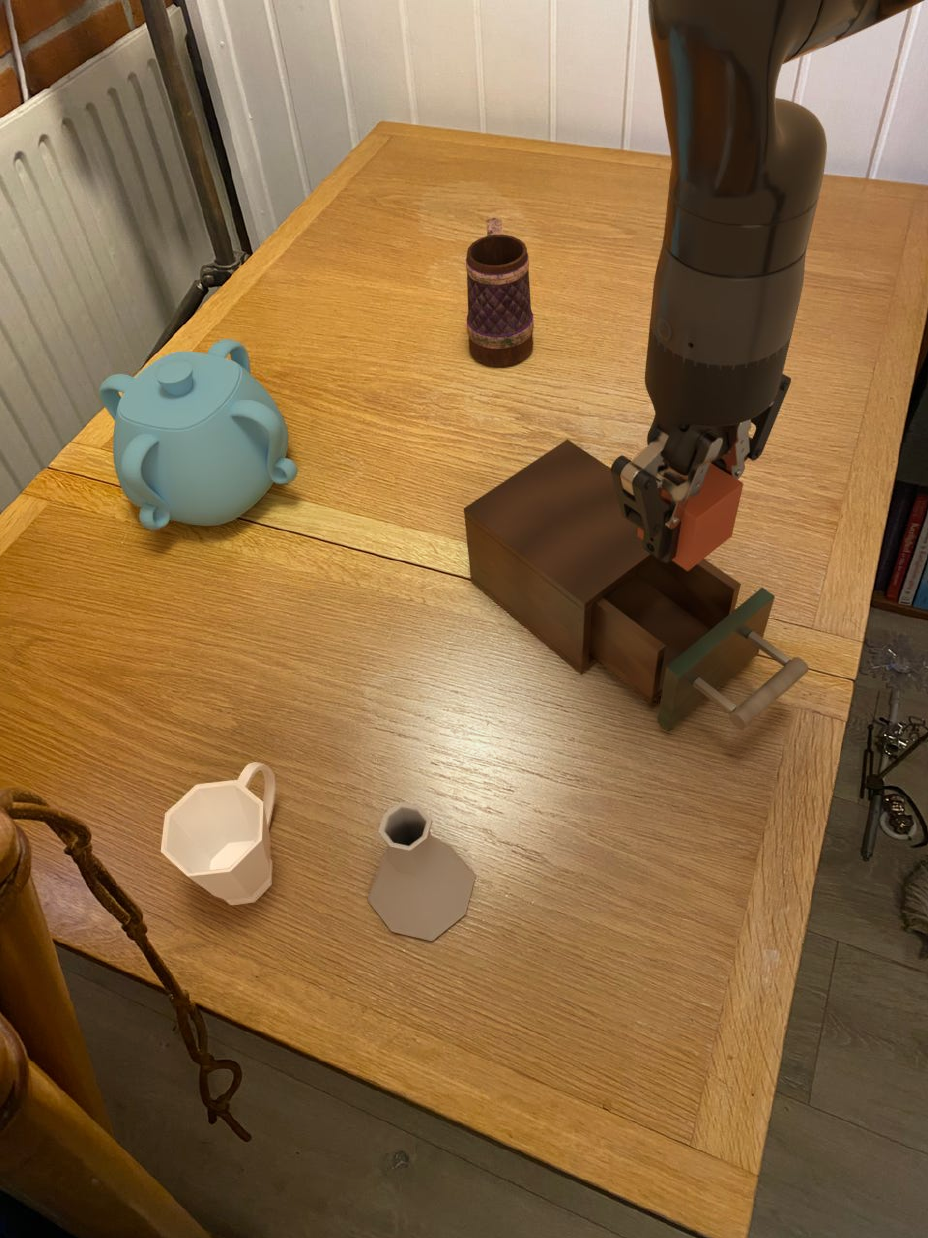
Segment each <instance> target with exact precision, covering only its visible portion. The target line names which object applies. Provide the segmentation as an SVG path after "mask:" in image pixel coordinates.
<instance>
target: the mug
mask: <svg viewBox="0 0 928 1238" xmlns="http://www.w3.org/2000/svg"><path fill="white" fill-rule="evenodd" d="M529 268H530V259H529V253H528V248H527V246H526V244H525V243H524V242H523V241H522V240H521V239H520V238H517V237H516V236H513V235H510V234H503V221H502V219H500V218H497V217H491V218H488V219H486V236H483V237H480V238H478V239H477V240H474V241H473V242H471V244H470V245H469V246H468V247H467V251H466V258H465V271H466V287H467V288H466V289H467V291H466V292H467V314H466V315H467V316H466V332H467V336H468V349H469V352H470V355H471V356H472V357H473V358H474V359H475V360H476V361H478V362H480V363H482V364H483V365H486V366H490V367H509V366H513V365H515V364H518V363H520V362H522V361H523V360H524V359H526V358H527V357H528V356H529V355H530V354H531V352H532V351H533V349H534V336H533V335H534V334H533V333H534V327H535V325H534V313H533V310H532V304H531V303H532V302H531V286H530V271H529Z"/></svg>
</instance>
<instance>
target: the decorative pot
mask: <svg viewBox="0 0 928 1238" xmlns="http://www.w3.org/2000/svg"><path fill="white" fill-rule="evenodd" d="M229 355H230V358H227V357H228V356H229ZM120 393H121V394H122V395H121V394H120ZM98 395H99V398H100V400H101V402H102V404H103V406H104V407H105V410H106V411H107V412H108V414H109V415H110V416H111V418H112V419H113V420H114V426H113V437H112V455H113V464H114V469H115V473H116V477H117V481H118V483H119V485H120V488H121V490H122V493H123V494H124V495H125V497H126V498H127V500H129V501H130V503H132V504H133V505H135V506H137V507H139V508H140V511H139V514H138V517H139V522H140V524H141V525H142V526H143V527H144V528H146V529H147V530H149V531H150V530H151V531H158V530H160V529H163V528H164V527H166V526H167V525H168V524H169V523H170V521H172V522H173V521H174V522H178V523H181V524H187V525H193V526H203V527H215V526H221V525H224V524H226V523H227V524H228V523H229V522H232V521H235V520H236V519H238V518H240V517H241V516H242V515H244V514H246V513H247V512H248V511H249V510H250V509H251V508H253V507H254V506H255V505H256V504H257V503H258V502H259V501H261V499H262V498H263V497H264V496H265V495H266V494H267V492H268V491H269V490H270V489H271V487H272V485H274V483H275V484H278V485H286V484H290V483H291V482H293V481H294V480H295V479H296V478H297V475H298V467H297V464H296V463H295V462H294V461H293V460H291V459H290V458H287V457H286V456H287V454H288V449H289V440H290V439H289V438H290V437H289V435H290V434H289V429H288V425H287V423H286V420H285V418H284V416H283V414H282V412H281V409H280V408H279V407H278V405H277V403H276V401H275V399H274V398H273V397H272V395H271V394H270V393H269V391H267V389H266V388H265V387H264V386H263V385H262V384H261V383H260V382H259V381H258V380H257V379H256V378H255V377H254V375H252V372H251V362H250V357H249V352H248V350H247V349H246V346H244V344H242V343H241V342H239V341H238V340H234V339H228V338H226V339H225V338H224V339H219V340H217V341H216V342H214V343H213V344H212V345H211V346H210V348H209V349H208V351H207V352H206V353H204V352H199V351H188V350H187V351H184V350H183V351H182V350H181V351H173V352H171V353H168V354H165V355H164V356H161V357H159V358H158V359H156V360H155V361H153V362H152V363H150V364H149V365H148V366H146V367H145V368H143V370H141V372H139V373H138V374H137V375H136V376H135V377H133V376H132V375H128V374H125V373H115V374H112V375H110V376H108V377H106V379H105V380H104V381H103V382H102V383H101V385H100V387H99V391H98Z"/></svg>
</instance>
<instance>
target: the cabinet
mask: <svg viewBox="0 0 928 1238" xmlns="http://www.w3.org/2000/svg"><path fill="white" fill-rule="evenodd" d="M463 516H464V517H463V518H464V525H465V526H464V527H465V536H466V546H467V555H468V565H469V574H470V583H471V584H473V585H474V586H475V587H476V588H477V589H479V590H480V591H481V592H482V593H483V594H485V595H486V596H487V597H488V598H490V599H491V600H492V601H493V602H494V603H496V605H498V606H499V607H500V608H501V609H503V610H504V611H505V612H506V613H507V614H508V615H510V616H511V617H512V618H513V619H514V620H515V621H517V622H518V623H519V624H520V625H522V626H523V627H524V628H525V629H527V630H528V631H529V632H530V633H531V634H533V635H534V636H535V637H536V638H537V639H539V641H540V642H542V643H543V644H545V646H547V647H548V648H549V649H550V650H551V651H552V652H554V653H555V654H557V656H559V657H560V658H561V659H562V660H563V661H565V662H566V663H567V664H568V665H569V666H571V667H572V668H573V669H574V670H575V671H577V673H579V674H580V675H583V674H584V673H586V672H587V671H588V670H590V669H591V668H592V667H593V666H595V665H596V664H597V663H598V662H599V661H598V660H597V659H596V658H595V657H593V656H592V655H591V654H590V653H589V646H590V627H591V608H592V604H593V603H595V602H596V601H597V600H599V599H600V598H601V597H602V596H604V595H605V594H606V593H608V592H609V591H610V590H612V589H613V588H614V587H616V586H617V585H618V584H620V583H621V582H622V581H623V580H625V579H626V578H627V577H629V576H630V575H631V574H633V573H634V572H635V571H637V570H638V569H639V568H640V567H642V566H643V565H644V564H646V563H647V562H648V561H650V560H651V559H652V558H654V556H653V555H652V554H650V553H649V552H647V551H646V550H644V548H643V546H642V544H643V540H642V539H641V538H640V537H638V536H637V535H638V527H637V526H636V525H634V524H633V523H631V522H630V521H628V520H627V519H625V518H624V517H623V516H622V514H621V510H620V506H619V502H618V498H617V494H616V490H615V486H614V482H613V478H612V474H611V467H610V466H608V465H606V464H605V463H604V462H602V461H601V460H599V459H598V458H597V457H594V455H591V454H590V453H589V452H587V451H586V450H584V449H583V448H581V447H580V446H578V445H577V444H575V443H574V442H572V441H571V440H570V439H567V438H566V439H565V440H564V441H562V442H561V443H559V444H558V445H556V446H555V447H553V448H552V449H550V450H549V451H547V452H546V453H544V454H542V455H541V456H540V457H539V458H537V459H536V460H534V461H533V462H531V463H530V464H528V465H526V466H525V467H523V468H522V469H520V470H519V471H518V472H516V473H515V474H513V475H511V476H510V477H509V478H507V479H505V480H504V481H502V482H501V483H500V484H498V485H496V486H495V487H494V488H492V489H490V490H489V491H487V492H486V493H485V494H483V495H482V496H480V497H479V498H477V499H475V500H474V501H473V502H471V503H470V504H468V505H467V506H465V507H464V508H463Z"/></svg>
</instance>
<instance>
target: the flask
mask: <svg viewBox="0 0 928 1238" xmlns="http://www.w3.org/2000/svg"><path fill="white" fill-rule="evenodd" d="M433 821H434V820H433V818H432V817H431V816H430V815H429V814H428V813H427V811H426V810H425V809H424V808H423V807H422V806H421V805H420V804H415V803H412V802H411V803H410V802H406V801H399V802H397V803H396V804H395V805H393V806H392V807H391V808H390V809H388V810H387V811H385V812H384V813H383V816H382V819H381V822H380V825H379V828H378V831H377V833H378V835H379V836H380V837H381V838H382V840H383V841H384V842H385V844H386V851H385V853H384V854H383V856H382V857H381V859H380V861H379V864H378V867H377V870H376V872H375V876H374V879H373V882H372V884H371V888H370V891H369V893H368V897H367V902H368V903H369V905H370V906H371V907H372V908H373V909H374V911H375V912H376V914H377V915H378V916H379V918H380V919H381V920H382V922H383V923H384V924H385V925H386V927H387V929H389V930H390V932H392V933H396V934H400V935H403V936H408V937H412V938H417V939H420V940H424V941H429V942H434V941H435V940H436V939H438V937H439V936H441V935H442V934H444V932H446V931H447V930H448V929H450V927H452V926H453V925H454V924H455V923H457V922H458V921H459V920H461V918H463V917H464V916H465V915H466V914H467V911H468V907H469V902H470V899H471V895H472V891H473V887H474V884H475V880H476V874H475V872H474V871H473V870H472V869H471V868H470V867H469V865H468V864H467V863H466V862H465V860H463V858H461V856H460V855H459V854H458V853H457V852H456V850H455V849H454V848H453V847H452V845H450V844H448V843H446V842H444V841H442V840H441V839H438V837H437V838H436V837H435V836H433V835H432V834H431V828H432V825H433Z"/></svg>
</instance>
